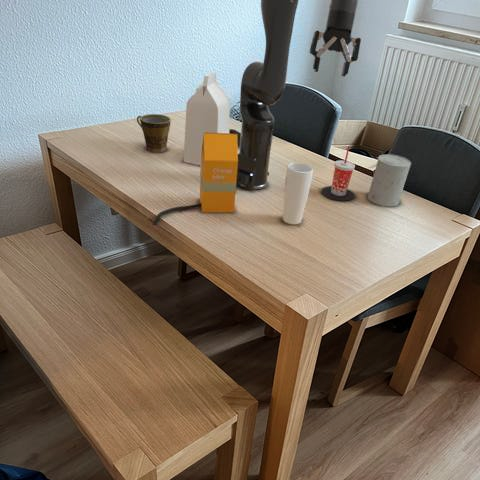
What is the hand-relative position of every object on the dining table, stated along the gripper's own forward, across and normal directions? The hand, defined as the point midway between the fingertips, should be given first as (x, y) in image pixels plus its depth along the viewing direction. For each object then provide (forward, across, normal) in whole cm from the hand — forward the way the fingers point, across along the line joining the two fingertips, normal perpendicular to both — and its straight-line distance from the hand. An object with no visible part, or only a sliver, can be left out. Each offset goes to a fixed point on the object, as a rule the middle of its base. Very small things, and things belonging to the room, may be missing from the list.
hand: (329, 74), depth 144 cm
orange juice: (+37, -31, -27) cm, 55 cm away
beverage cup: (+32, +7, -14) cm, 35 cm away
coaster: (+32, +7, -14) cm, 36 cm away
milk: (+31, -34, +6) cm, 46 cm away
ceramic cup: (+30, -53, +14) cm, 62 cm away
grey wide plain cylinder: (+32, +20, -16) cm, 41 cm away
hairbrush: (+26, -22, +25) cm, 42 cm away
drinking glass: (+37, -10, -34) cm, 51 cm away
